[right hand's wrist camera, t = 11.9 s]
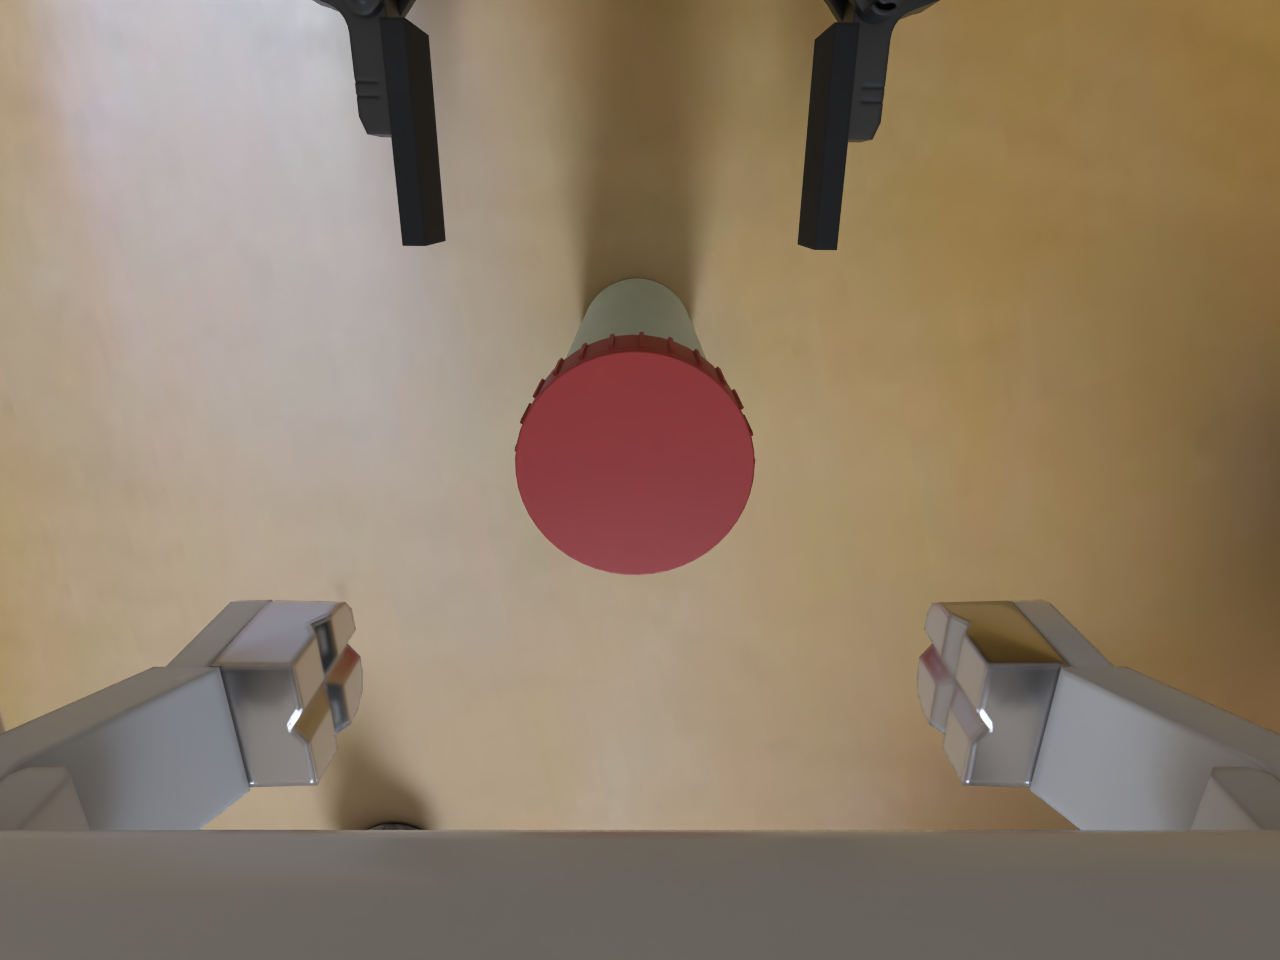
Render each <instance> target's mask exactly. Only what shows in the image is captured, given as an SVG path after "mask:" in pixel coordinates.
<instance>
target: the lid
mask: <svg viewBox="0 0 1280 960" xmlns="http://www.w3.org/2000/svg"><path fill="white" fill-rule="evenodd" d="M533 397H534V398H535V399H534V401H533V403H532V404H531V403H529V405H528V407H527V409H526V411H525V413H524V415H523V417H522V419H521V421H520V423H521V424H522V427H521V429H520V433H519V437H518V441H517V444H516V447H515V451H516V456H515V465H516V477H517V483H518V488H519V491H520V494H521V498H522V501H523V503H524V505H525V507H526V509H527V511H528V514H529V515H530V517H531V518H532V520H533V522H534V523H535V525H536V526H537V527H538V529H539V530H540V531H541V532H542V533H543V535H544V536H545V537H546V538H547V539H548V540H549V541H550V542H551V543H553V544H554V545H555V546H556V547H557V548H558V549H560V550H561V551H562V552H564V553H565V554H567V555H568V556H570V557H571V558H573V559H575V560H577V561H579V562H581V563H583V564H585V565H588V566H590V567H593V568H595V569H599V570H603V571H607V572H611V573H618V574H627V575H643V574H654V573H659V572H663V571H668V570H671V569H674V568H677V567H680V566H683V565H685V564H687V563H689V562H691V561H693V560H695V559H697V558H699V557H700V556H702V555H703V554H705V553H707V552H708V551H709V550H711V549H712V548H713V547H714V546H715V545H717V544H718V543H719V542H720V541H721V540H722V539H723V538H724V537H725V536H726V535H727V534H728V533H729V531H730V530H731V529H732V527H733V526H734V525H735V523H736V522H737V521H738V519H739V517H740V515H741V513H742V511H743V510H744V508H745V505H746V503H747V500H748V498H749V495H750V491H751V487H752V483H753V477H754V466H755V458H754V448H753V443H752V438H751V436H753V432H752V430H751V427H750V425H749V423H748V421H747V419H746V417H745V415H743V413H742V411H741V409H743V408H744V407H743V405H742V403H741V401H740V399H739V397H738V395H737V393H736V391H735V389H734V390H732V391H731V389H730V387H729V385H728V384H727V382H726V380H725V378H724V376H723V374H722V371H721V369H720V368H719V367H717V368H716V369H715V368H714V366H713V365H712V364H710V363H709V362H708V361H707V360H706V359H704V358H703V357H702V356H701V355H700V352H699V350H697V349H695V350H694V351H693V350H691V349H690V348H688V347H686V346H683V345H681V344H679V343H677V342H674V341H673V338H672V337H668V339H664V338H661V337H655V336H649V335H644V332H639V335H622V336H615V334H610V337H609V338H606V339H602V340H599V341H596V342H594V343H591V344H589V345H587V343H584V344H582V347H581V349H579V350H577V351H575V352H574V353H573V354H571V355H570V356H569V357H567V358H566V359H564V360H563V359H562V358H561V359H560V360H559V361H558V363H557V365H556V367H555V369H554V370H553V371H552V372H551V373H550V375H549V376H548V377H547V379H546V380H544V379H542V380H541V381H540V383H539V385H538V387H537V389H536V391H535V393H534V395H533Z"/></svg>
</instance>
